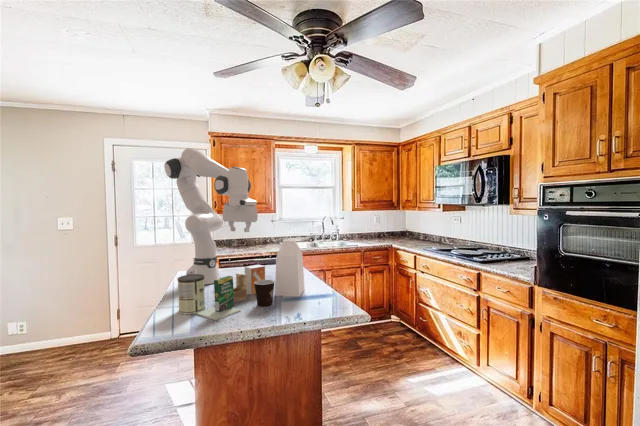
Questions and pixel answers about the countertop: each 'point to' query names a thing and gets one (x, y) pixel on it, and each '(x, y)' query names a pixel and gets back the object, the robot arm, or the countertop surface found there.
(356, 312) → the countertop surface
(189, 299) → the coffee can
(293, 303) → the countertop surface
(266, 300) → the coffee mug
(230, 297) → the coffee box
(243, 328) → the countertop surface
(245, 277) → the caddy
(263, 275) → the small box
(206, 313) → the sage green square tile
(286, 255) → the milk
